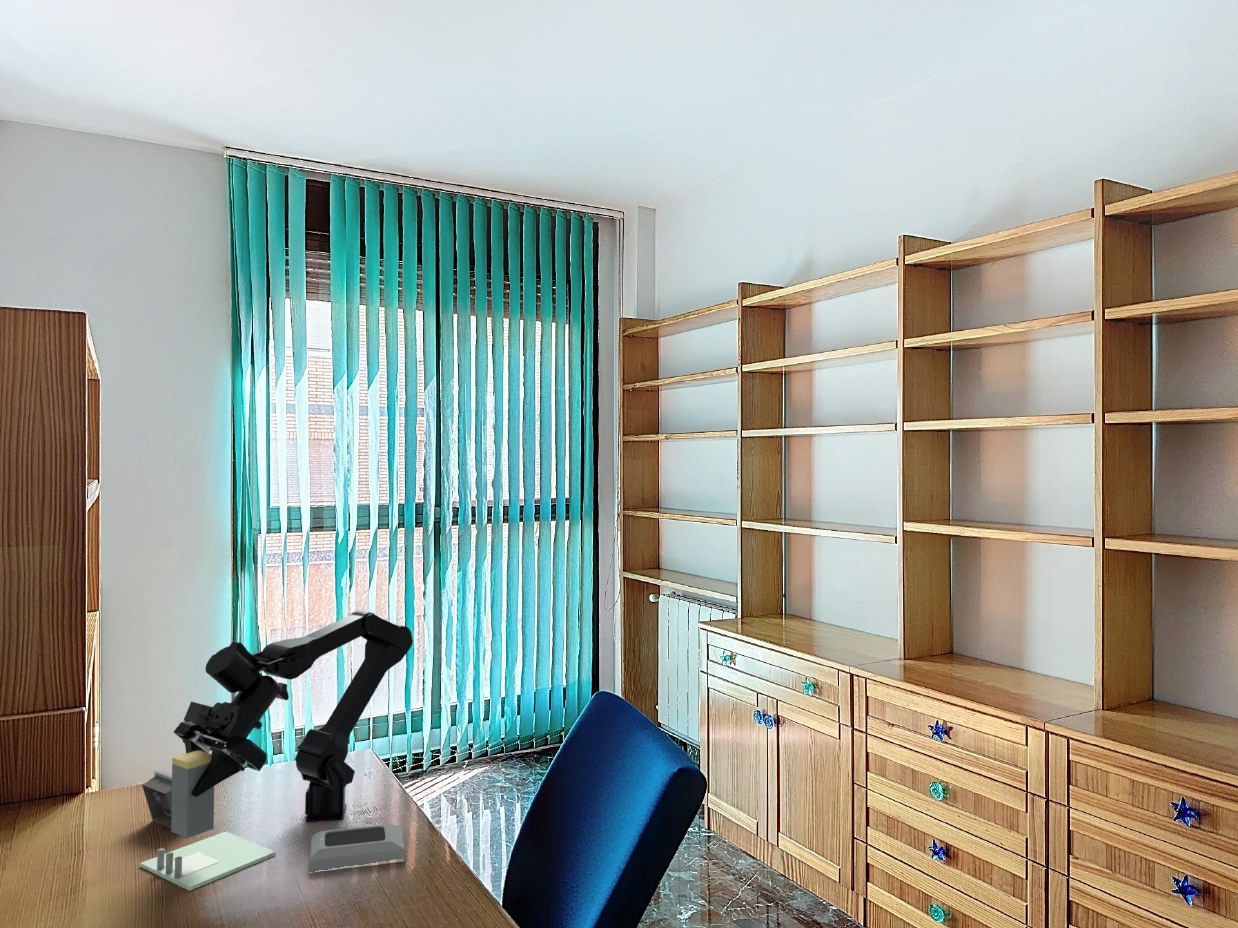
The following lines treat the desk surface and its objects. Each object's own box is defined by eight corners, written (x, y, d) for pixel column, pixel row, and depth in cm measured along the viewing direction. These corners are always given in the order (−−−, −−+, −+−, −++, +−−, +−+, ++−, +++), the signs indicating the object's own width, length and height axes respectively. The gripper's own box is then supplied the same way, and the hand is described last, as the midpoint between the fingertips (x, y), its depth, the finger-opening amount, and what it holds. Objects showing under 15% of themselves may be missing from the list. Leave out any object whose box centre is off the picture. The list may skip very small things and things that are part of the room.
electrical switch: (199, 825, 158) (195, 775, 157) (171, 837, 153) (167, 787, 153) (170, 813, 163) (166, 765, 162) (142, 825, 158) (138, 775, 158)
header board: (225, 834, 154) (226, 814, 154) (275, 855, 146) (275, 833, 146) (140, 866, 141) (140, 844, 141) (189, 890, 134) (189, 867, 134)
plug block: (197, 821, 144) (198, 749, 144) (213, 828, 142) (214, 755, 142) (171, 831, 141) (172, 757, 140) (187, 838, 138) (188, 762, 138)
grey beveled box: (405, 842, 145) (309, 852, 140) (404, 864, 145) (309, 875, 140) (401, 819, 154) (311, 829, 149) (400, 840, 154) (310, 850, 149)
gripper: (185, 673, 150) (118, 755, 140) (251, 690, 139) (183, 779, 130) (227, 708, 156) (165, 788, 147) (292, 727, 146) (231, 814, 137)
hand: (184, 792), depth 140 cm, fingers closed on plug block, 4 cm apart
